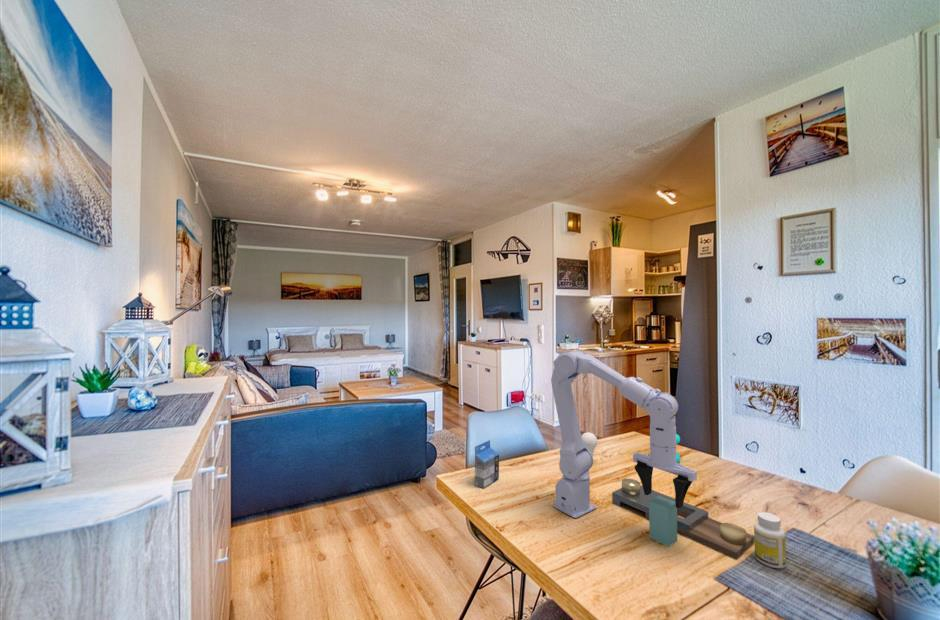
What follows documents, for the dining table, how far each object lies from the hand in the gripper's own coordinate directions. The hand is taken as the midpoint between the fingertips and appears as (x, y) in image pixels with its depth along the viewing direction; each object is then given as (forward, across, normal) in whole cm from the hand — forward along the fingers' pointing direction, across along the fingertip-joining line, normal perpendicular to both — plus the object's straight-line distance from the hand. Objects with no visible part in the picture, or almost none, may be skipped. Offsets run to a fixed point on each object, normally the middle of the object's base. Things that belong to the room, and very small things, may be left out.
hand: (663, 500), depth 91 cm
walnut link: (+9, -3, -11) cm, 15 cm away
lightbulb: (+10, +40, -25) cm, 48 cm away
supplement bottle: (+10, -18, -11) cm, 23 cm away
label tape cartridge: (+10, +49, +16) cm, 52 cm away
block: (+9, 0, 0) cm, 9 cm away
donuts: (+10, +25, -51) cm, 58 cm away
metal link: (+9, +7, -11) cm, 16 cm away
